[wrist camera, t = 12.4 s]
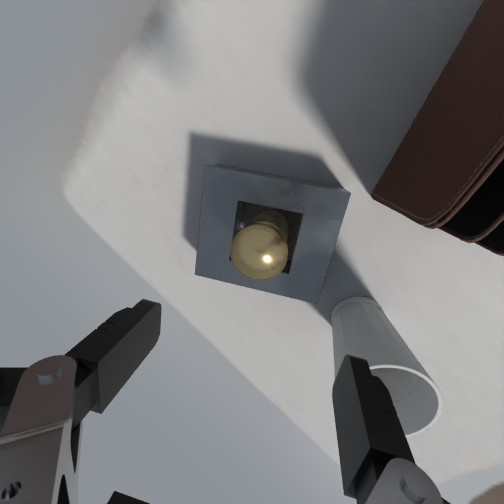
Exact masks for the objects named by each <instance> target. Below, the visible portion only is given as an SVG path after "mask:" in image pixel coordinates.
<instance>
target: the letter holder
mask: <svg viewBox="0 0 504 504" xmlns="http://www.w3.org/2000/svg"><path fill="white" fill-rule="evenodd" d="M371 196H372V198H373V199H374V200H376V201H378V202H380V203H381V204H383V205H385V206H387V207H389V208H391V209H393V210H395V211H397V212H398V213H400V214H402V215H404V216H406V217H408V218H409V219H411V220H412V221H414V222H416V223H418V224H420V225H423V226H424V227H426V228H430V229H434V228H438V229H441V230H443V231H445V232H447V233H449V234H450V235H452V236H455V237H457V238H459V239H460V240H462V241H465V242H467V243H473V242H474V243H476V244H478V245H480V246H482V247H484V248H485V249H488V250H490V251H491V252H493V253H495V254H498V255H500V256H504V0H484V2H483V4H482V5H481V7H480V9H479V10H478V12H477V14H476V16H475V17H474V19H473V21H472V23H471V24H470V26H469V28H468V29H467V31H466V33H465V35H464V36H463V38H462V40H461V41H460V43H459V45H458V47H457V48H456V50H455V52H454V53H453V55H452V57H451V58H450V60H449V62H448V63H447V65H446V67H445V69H444V70H443V72H442V74H441V76H440V77H439V79H438V80H437V82H436V84H435V85H434V87H433V89H432V91H431V93H430V94H429V96H428V98H427V99H426V101H425V103H424V105H423V106H422V108H421V110H420V111H419V113H418V115H417V117H416V118H415V120H414V122H413V124H412V125H411V127H410V129H409V131H408V132H407V134H406V136H405V138H404V139H403V141H402V143H401V144H400V146H399V148H398V150H397V151H396V153H395V155H394V156H393V158H392V160H391V162H390V163H389V165H388V167H387V168H386V170H385V172H384V174H383V175H382V177H381V179H380V181H379V182H378V184H377V185H376V187H375V189H374V190H373V192H372V194H371Z"/></svg>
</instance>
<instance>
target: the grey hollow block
mask: <svg viewBox="0 0 504 504" xmlns="http://www.w3.org/2000/svg"><path fill="white" fill-rule="evenodd" d="M350 195H351V193H350V192H349V191H347V190H346V189H344V188H339V187H334V186H328V185H323V184H318V183H313V182H307V181H302V180H297V179H291V178H286V177H281V176H276V175H270V174H265V173H260V172H254V171H249V170H244V169H239V168H233V167H228V166H223V165H205V172H204V183H203V193H202V204H201V214H200V225H199V235H198V246H197V256H196V267H195V275H198V276H202V277H207V278H211V279H215V280H219V281H223V282H227V283H232V284H236V285H240V286H244V287H248V288H253V289H257V290H261V291H265V292H269V293H273V294H278V295H282V296H286V297H290V298H294V299H298V300H303V301H307V302H311V303H315V304H317V303H318V299H319V296H320V293H321V290H322V286H323V283H324V280H325V277H326V273H327V270H328V267H329V263H330V260H331V257H332V254H333V250H334V247H335V244H336V241H337V237H338V234H339V231H340V227H341V224H342V221H343V218H344V214H345V211H346V208H347V205H348V201H349V198H350ZM245 202H249V203H253V204H258V205H263V206H268V207H273V208H278V209H283V210H288V211H293V212H298V213H302V214H301V218H300V223H299V227H298V231H297V235H296V239H295V243H294V247H293V251H292V256H291V260H287V262H286V265H285V267H284V269H283V270H282V271H281V272H280V273H279V274H278V275H277V276H275V277H274V278H272V279H269V280H264V281H257V280H252V279H249V278H247V277H245V276H243V275H242V274H240V273H239V272H238V271H237V269H236V268H235V267H234V265H233V263H232V261H231V257H230V247H231V243H232V241H233V239H234V237H235V236H236V235H237V234H238V232H239V231H240V229H241V223H242V217H243V210H244V204H245Z"/></svg>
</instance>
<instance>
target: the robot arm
mask: <svg viewBox="0 0 504 504" xmlns="http://www.w3.org/2000/svg"><path fill="white" fill-rule="evenodd" d="M160 324H161V304H160V303H157V302H153V301H149V300H145V299H142V300H141V301H140V302H138V303H137V304H136V305H135V306H134V307H133V308H128V307H127V308H125V309H123V310H120V311H118V312H116V313H114V314H113V315H112V316H111V317H110V318H108V319H107V320H106V322H104V323H102V324H101V325H100V326H99V327H98V328H97V329H95V330H94V331H93V332H91V333H90V334H89V335H88V336H87V337H85V338H84V339H83V340H82V341H81V342H80V343H78V344H77V345H76V346H75V347H73V348H72V349H71V350H70V351H69V352H67V353H66V354H65V355H58V356H51V357H48V358H44V359H42V360H40V361H38V362H36V363H34V364H32V365H31V366H30V367H28V368H0V504H77V481H78V469H79V457H80V447H81V437H82V427H83V426H82V425H83V418H84V417H85V416H86V415H87V413H88V412H89V411H90V410H91V411H94V412H97V413H100V414H101V413H102V412H103V411H104V410H105V408H106V407H107V406H108V405H109V403H110V402H111V401H112V400H113V398H114V397H115V396H116V394H117V393H118V392H119V391H120V389H121V388H122V387H123V385H124V384H125V383H126V382H127V380H128V379H129V378H130V377H131V375H132V374H133V373H134V371H135V370H136V369H137V368H138V366H139V365H140V364H141V363H142V361H143V360H144V359H145V357H146V356H147V355H148V354H149V352H150V351H151V350H152V349H153V347H154V346H155V344H156V343H157V341H158V338H159V335H160V326H161V325H160ZM332 398H333V406H334V415H335V423H336V431H337V440H338V448H339V456H340V465H341V473H342V481H343V489H344V495H346V496H349V497H352V498H355V499H356V500H357V504H450V503H449V502H447V501H446V500H444V499H443V498H442V497H441V495H440V493H439V491H438V489H437V487H436V485H435V484H434V482H433V481H432V480H431V479H430V477H429V476H428V475H427V474H426V473H425V472H424V471H423V470H422V469H421V468H419V467H418V466H417V465H416V464H415V461H414V458H413V456H412V453H411V450H410V447H409V445H408V442H407V439H406V436H405V434H404V431H403V428H402V425H401V423H400V420H399V417H397V412H396V409H395V406H393V401H392V398H391V395H390V393H389V390H388V388H387V387H386V386H385V384H384V383H383V382H382V380H381V379H380V378H379V377H377V376H374V375H372V374H371V370H370V367H369V364H368V361H367V360H366V359H363V358H359V357H355V356H351V355H348V354H347V355H345V357H344V359H343V361H342V364H341V366H340V369H339V371H338V374H337V376H336V379H335V381H334V385H333V392H332ZM107 504H149V503H147V502H144V501H141V500H138V499H136V498H133V497H130V496H127V495H124V494H122V493H119V492H116V491H114V493H113V494H112V496H111V498H110V500H109V502H108V503H107Z"/></svg>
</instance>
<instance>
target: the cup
mask: <svg viewBox="0 0 504 504" xmlns="http://www.w3.org/2000/svg"><path fill="white" fill-rule="evenodd" d="M331 324H332V333H333V349H334V366H335V379H336V376H337V374H338V371H339V369H340V366H341V364H342V361H343V359H344V357H345V355H347V354H348V355H351V356H355V357H359V358H363V359H366V360H367V361H368V364H369V367H370V370H371V374H372V375H374V376H377V377H379V378H380V379H381V380H382V382H383V383H384V384H385V386H386V387H387V388H388V390H389V393H390V395H391V398H392V401H393V406H395V409H396V412H397V417H399V420H400V423H401V425H402V428H403V431H404V434H405V436H406V437H410V436H413V435H416V434H419V433H421V432H423V431H425V430H426V429H428V428H429V427H430V426H431V425H433V424H434V423H435V421H436V420H437V419H438V417H439V415H440V413H441V410H442V396H441V393H440V391H439V389H438V387H437V386H436V384H435V383H434V382H433V380H432V379H431V378H430V376H429V375H428V373H427V372H426V371H425V369H424V368H423V367H422V365H421V364H420V363H419V361H418V360H417V359H416V357H415V356H414V354H413V353H412V352H411V350H410V349H409V347H408V346H407V345H406V343H405V342H404V340H403V339H402V338H401V336H400V335H399V333H398V332H397V330H396V329H395V328H394V326H393V325H392V323H391V322H390V321H389V319H388V318H387V316H386V315H385V313H384V311H383V310H382V308H381V306H380V305H379V304H378V303H377V302H375V301H374V300H372V299H369V298H366V297H359V296H356V297H350V298H347V299H344V300H342V301H341V302H339V303H338V304H337V305H336V306H335V307H334V309H333V311H332V313H331Z"/></svg>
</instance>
